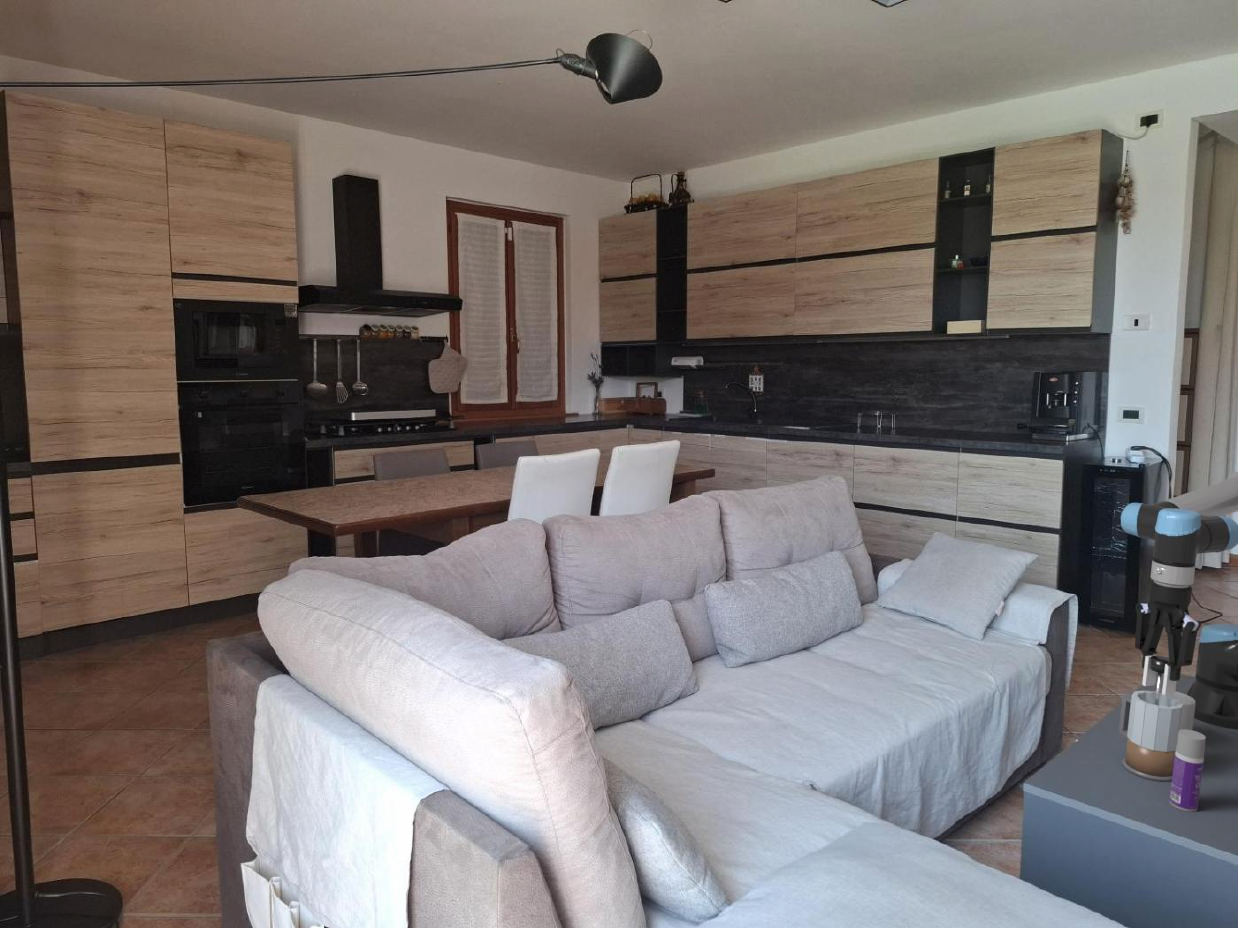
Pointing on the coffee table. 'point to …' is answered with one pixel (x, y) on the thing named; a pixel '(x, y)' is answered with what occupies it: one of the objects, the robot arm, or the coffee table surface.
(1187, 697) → the mug
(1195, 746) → the container
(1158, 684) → the plunger
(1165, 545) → the robot arm
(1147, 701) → the carafe
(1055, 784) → the coffee table surface
